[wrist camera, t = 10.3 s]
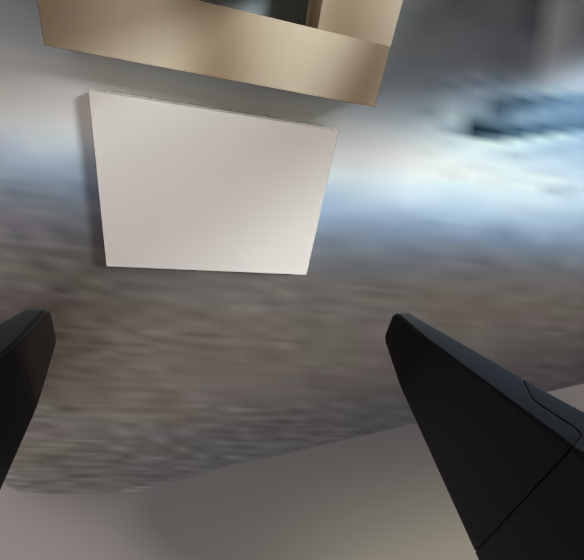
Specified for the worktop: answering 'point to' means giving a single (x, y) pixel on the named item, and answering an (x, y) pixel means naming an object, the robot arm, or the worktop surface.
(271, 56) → the frame
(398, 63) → the worktop surface
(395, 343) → the robot arm
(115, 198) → the tile
